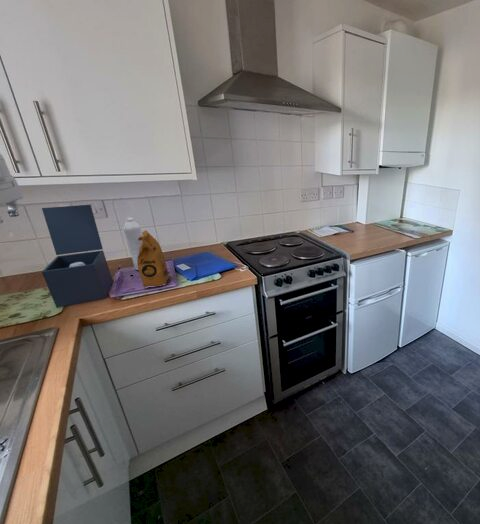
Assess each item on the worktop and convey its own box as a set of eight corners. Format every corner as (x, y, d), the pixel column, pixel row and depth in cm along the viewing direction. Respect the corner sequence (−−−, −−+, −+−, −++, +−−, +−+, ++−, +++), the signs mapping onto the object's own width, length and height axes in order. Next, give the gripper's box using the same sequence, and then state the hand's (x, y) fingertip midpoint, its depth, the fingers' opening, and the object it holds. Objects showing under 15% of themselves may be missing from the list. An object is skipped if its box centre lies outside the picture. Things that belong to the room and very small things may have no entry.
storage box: (105, 298, 116) (94, 264, 111) (56, 307, 109) (41, 271, 104) (113, 281, 130) (103, 250, 125) (69, 288, 124) (57, 256, 118)
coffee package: (139, 290, 122) (124, 239, 114) (146, 278, 133) (133, 230, 124) (167, 287, 125) (154, 236, 117) (172, 275, 136) (160, 228, 128)
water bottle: (134, 268, 143) (119, 217, 134) (149, 264, 147) (136, 214, 138) (137, 273, 137) (121, 220, 128) (153, 270, 141) (139, 218, 132)
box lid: (90, 204, 120) (93, 204, 124) (41, 208, 113) (46, 207, 117) (102, 249, 124) (104, 248, 128) (56, 255, 118) (60, 253, 121)
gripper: (-10, 168, 90) (10, 213, 95) (-57, 174, 73) (-30, 229, 78) (19, 167, 92) (36, 211, 98) (-21, 173, 75) (3, 226, 81)
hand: (6, 219), depth 88 cm, fingers open, 8 cm apart
